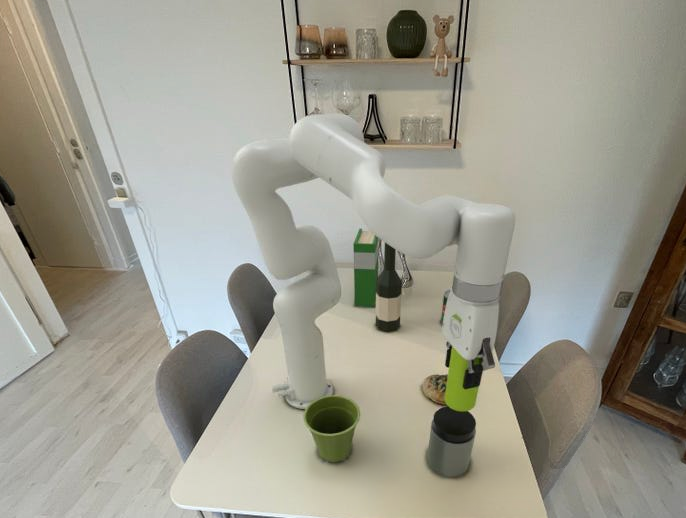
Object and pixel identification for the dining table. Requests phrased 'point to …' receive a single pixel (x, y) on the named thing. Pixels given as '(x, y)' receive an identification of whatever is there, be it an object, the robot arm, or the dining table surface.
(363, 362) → the dining table surface
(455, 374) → the soap dispenser
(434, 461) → the grey and black cylinder
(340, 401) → the plant pot
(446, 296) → the canned tomato
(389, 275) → the wine bottle
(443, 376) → the bread roll
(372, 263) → the hardback book
